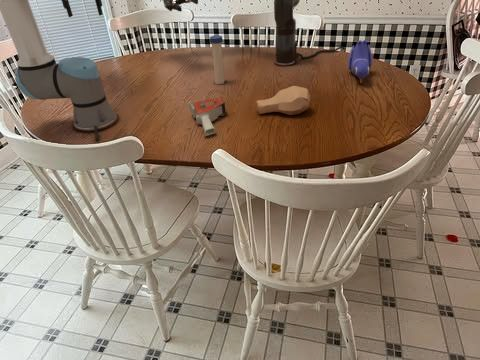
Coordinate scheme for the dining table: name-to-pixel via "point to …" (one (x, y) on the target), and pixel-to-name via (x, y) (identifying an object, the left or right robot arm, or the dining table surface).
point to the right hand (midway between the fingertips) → (188, 5)
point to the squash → (286, 101)
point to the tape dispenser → (207, 113)
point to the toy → (360, 59)
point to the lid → (216, 39)
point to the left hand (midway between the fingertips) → (85, 15)
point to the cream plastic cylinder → (218, 63)
